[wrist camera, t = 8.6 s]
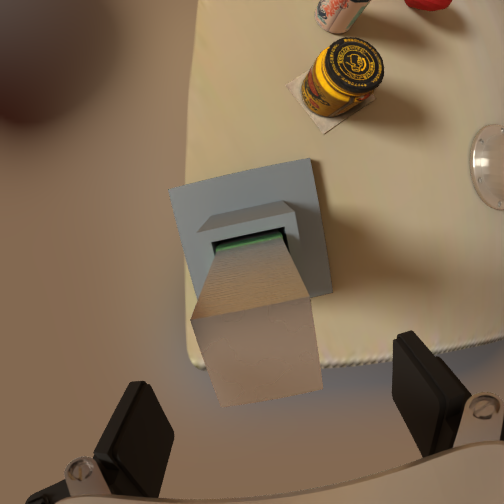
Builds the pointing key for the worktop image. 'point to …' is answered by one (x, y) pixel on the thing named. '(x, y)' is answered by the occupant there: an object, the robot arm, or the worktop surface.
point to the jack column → (256, 322)
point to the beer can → (339, 14)
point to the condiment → (339, 82)
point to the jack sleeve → (254, 218)
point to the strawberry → (428, 4)
